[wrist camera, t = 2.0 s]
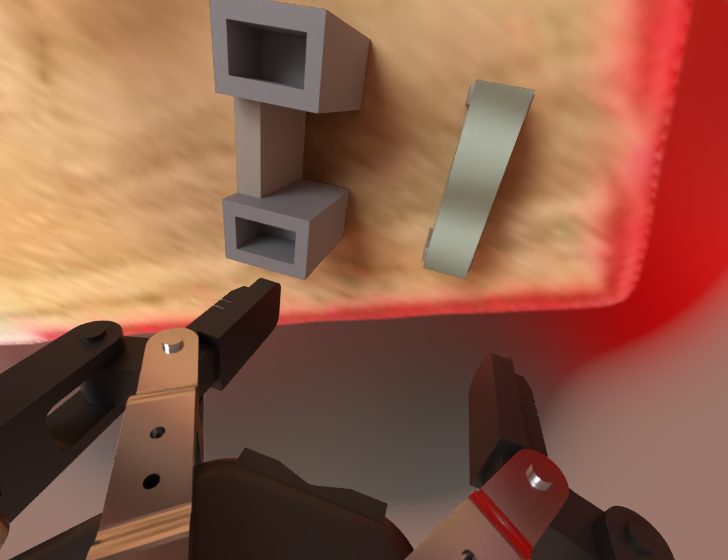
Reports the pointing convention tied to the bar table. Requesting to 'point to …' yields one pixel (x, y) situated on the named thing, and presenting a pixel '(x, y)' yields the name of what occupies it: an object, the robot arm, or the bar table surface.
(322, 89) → the grey hollow block
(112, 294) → the bar table surface
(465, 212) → the rail
